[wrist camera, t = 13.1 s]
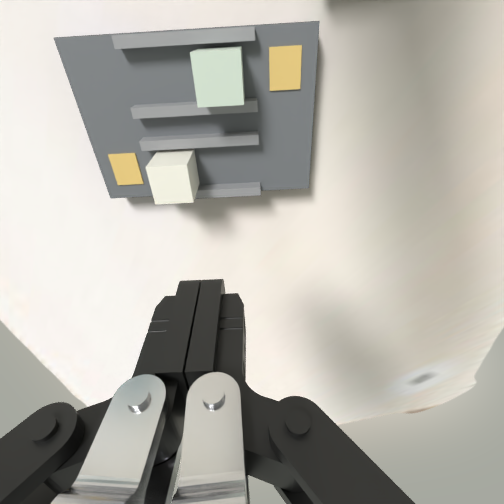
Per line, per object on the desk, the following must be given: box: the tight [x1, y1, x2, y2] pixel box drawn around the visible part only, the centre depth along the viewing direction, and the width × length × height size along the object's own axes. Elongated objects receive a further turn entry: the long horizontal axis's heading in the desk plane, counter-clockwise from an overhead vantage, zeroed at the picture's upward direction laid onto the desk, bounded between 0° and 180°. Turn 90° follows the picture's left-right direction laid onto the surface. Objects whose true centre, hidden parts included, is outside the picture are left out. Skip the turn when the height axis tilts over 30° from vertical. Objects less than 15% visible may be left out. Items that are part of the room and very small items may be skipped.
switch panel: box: [54, 21, 319, 199], centre depth 33 cm, size 16×24×4 cm, turn 93°
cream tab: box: [146, 149, 200, 205], centre depth 33 cm, size 4×4×5 cm
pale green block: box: [190, 46, 245, 108], centre depth 27 cm, size 4×4×5 cm
